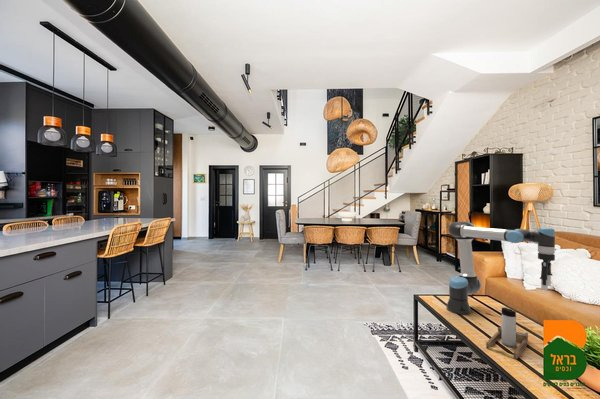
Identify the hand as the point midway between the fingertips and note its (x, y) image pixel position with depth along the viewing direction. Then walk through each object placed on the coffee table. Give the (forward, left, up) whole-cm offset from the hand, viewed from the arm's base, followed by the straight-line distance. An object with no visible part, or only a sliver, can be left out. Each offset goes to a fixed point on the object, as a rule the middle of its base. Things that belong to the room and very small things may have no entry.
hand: (546, 288), depth 158 cm
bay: (-11, -35, -27) cm, 46 cm away
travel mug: (-11, -35, -28) cm, 46 cm away
